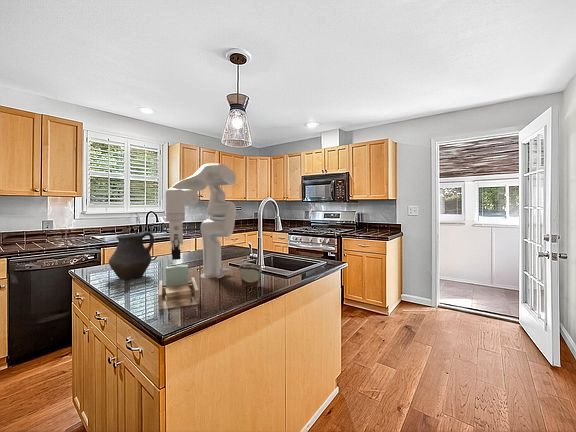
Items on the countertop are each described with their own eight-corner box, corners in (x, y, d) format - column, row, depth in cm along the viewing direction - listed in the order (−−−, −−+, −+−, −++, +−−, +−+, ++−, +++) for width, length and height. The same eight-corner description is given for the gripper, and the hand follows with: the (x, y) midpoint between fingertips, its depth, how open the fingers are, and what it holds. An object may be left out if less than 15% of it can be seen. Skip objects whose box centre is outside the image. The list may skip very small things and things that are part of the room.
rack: (194, 292, 130) (193, 277, 129) (199, 307, 111) (198, 290, 111) (159, 296, 124) (159, 280, 123) (159, 313, 106) (158, 295, 105)
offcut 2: (190, 292, 120) (190, 288, 120) (191, 297, 113) (191, 294, 113) (167, 295, 116) (167, 291, 116) (166, 300, 110) (166, 296, 110)
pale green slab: (188, 291, 126) (187, 264, 125) (188, 293, 124) (188, 266, 123) (166, 294, 122) (165, 266, 122) (166, 296, 120) (165, 268, 119)
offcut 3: (188, 296, 120) (188, 292, 119) (190, 301, 113) (190, 297, 113) (165, 299, 116) (165, 295, 115) (166, 305, 109) (166, 301, 109)
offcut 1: (188, 289, 119) (188, 285, 119) (190, 294, 113) (190, 290, 113) (165, 292, 115) (165, 288, 115) (166, 297, 109) (166, 293, 109)
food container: (266, 285, 140) (266, 265, 139) (260, 288, 134) (260, 268, 134) (245, 282, 145) (245, 262, 145) (239, 285, 140) (238, 265, 139)
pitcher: (110, 275, 158) (108, 231, 156) (153, 270, 168) (152, 229, 167) (108, 285, 140) (106, 235, 138) (156, 279, 150) (155, 232, 149)
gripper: (186, 218, 114) (186, 260, 115) (183, 216, 130) (183, 253, 131) (166, 218, 111) (166, 261, 112) (165, 217, 127) (166, 254, 128)
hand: (175, 257), depth 121 cm, fingers open, 9 cm apart
